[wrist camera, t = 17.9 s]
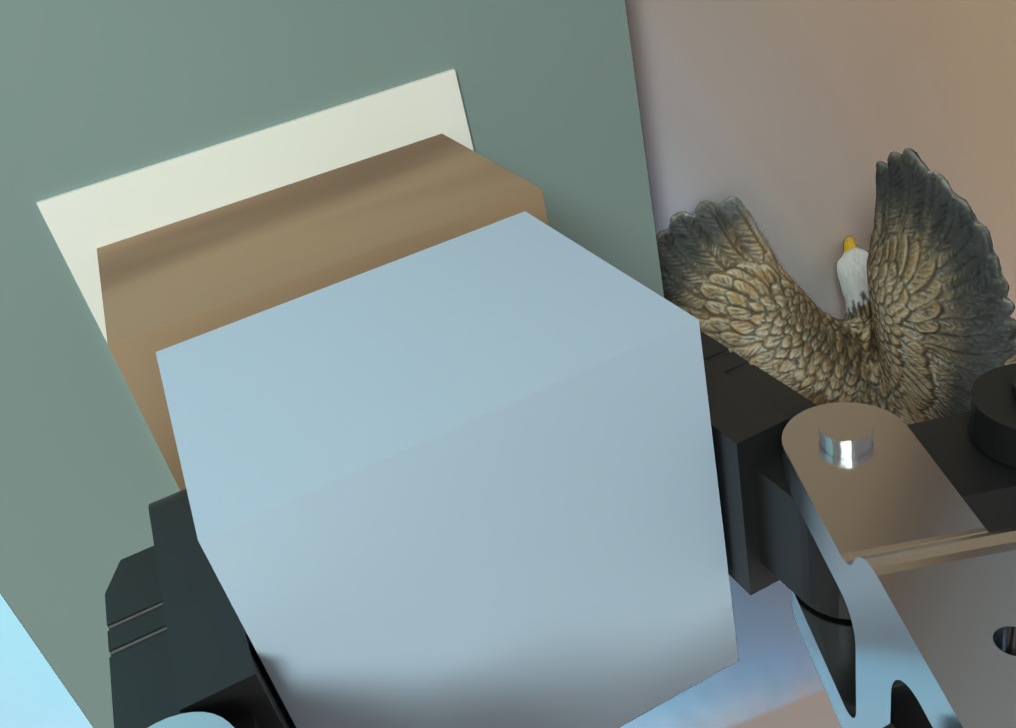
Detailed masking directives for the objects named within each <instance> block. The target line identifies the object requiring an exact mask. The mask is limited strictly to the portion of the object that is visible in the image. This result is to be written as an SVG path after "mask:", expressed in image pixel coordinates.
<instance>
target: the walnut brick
mask: <svg viewBox="0 0 1016 728" xmlns="http://www.w3.org/2000/svg"><path fill="white" fill-rule="evenodd" d="M524 211H526V212H527V213H529V214H530V215H532V216H534V217H535V218H537V219H538V220H540V221H542V222H543V223H545V224H546V225H548V220H547V215H546V209H545V204H544V199H543V194H542V189H541V188H539V187H538V186H536V185H534V184H532V183H530V182H529V181H527V180H525V179H523V178H521V177H520V176H518V175H516V174H514V173H512V172H510V171H509V170H507V169H505V168H503V167H501V166H500V165H498V164H496V163H494V162H492V161H491V160H489V159H487V158H485V157H483V156H482V155H480V154H478V153H476V152H474V151H473V150H471V149H469V148H467V147H465V146H464V145H462V144H460V143H458V142H456V141H454V140H453V139H451V138H449V137H447V136H445V135H444V134H439V135H436V136H433V137H430V138H427V139H424V140H421V141H418V142H415V143H412V144H409V145H406V146H403V147H400V148H397V149H394V150H391V151H388V152H385V153H382V154H379V155H376V156H373V157H370V158H367V159H364V160H361V161H358V162H355V163H352V164H349V165H346V166H343V167H340V168H337V169H334V170H331V171H328V172H325V173H322V174H319V175H316V176H313V177H310V178H307V179H304V180H301V181H298V182H295V183H292V184H289V185H286V186H283V187H280V188H277V189H274V190H271V191H268V192H265V193H262V194H259V195H256V196H253V197H250V198H247V199H244V200H241V201H238V202H235V203H232V204H229V205H226V206H223V207H220V208H217V209H214V210H211V211H208V212H205V213H202V214H199V215H196V216H193V217H190V218H187V219H184V220H181V221H178V222H175V223H172V224H169V225H166V226H163V227H160V228H157V229H154V230H151V231H148V232H145V233H142V234H139V235H136V236H133V237H130V238H127V239H124V240H121V241H118V242H115V243H112V244H109V245H106V246H103V247H100V248H97V256H98V265H99V274H100V282H101V291H102V300H103V308H104V317H105V326H106V335H107V343H108V347H109V349H110V351H111V353H112V355H113V357H114V359H115V361H116V363H117V365H118V367H119V369H120V371H121V373H122V375H123V377H124V379H125V381H126V383H127V385H128V387H129V389H130V391H131V393H132V395H133V397H134V399H135V401H136V403H137V405H138V407H139V409H140V411H141V413H142V415H143V417H144V419H145V421H146V423H147V425H148V427H149V429H150V431H151V433H152V435H153V437H154V439H155V441H156V443H157V445H158V447H159V449H160V451H161V453H162V455H163V457H164V459H165V461H166V463H167V465H168V467H169V469H170V471H171V473H172V475H173V477H174V479H175V481H176V483H177V485H178V487H179V489H180V491H181V490H184V489H186V485H185V481H184V476H183V472H182V467H181V463H180V459H179V454H178V450H177V445H176V441H175V436H174V432H173V427H172V423H171V419H170V414H169V410H168V405H167V401H166V396H165V392H164V387H163V383H162V379H161V374H160V370H159V365H158V361H157V356H156V352H157V351H160V350H162V349H165V348H168V347H170V346H173V345H176V344H178V343H181V342H183V341H186V340H189V339H191V338H194V337H197V336H199V335H202V334H204V333H207V332H210V331H212V330H215V329H218V328H220V327H223V326H225V325H228V324H231V323H233V322H236V321H238V320H241V319H244V318H246V317H249V316H252V315H254V314H257V313H259V312H262V311H265V310H267V309H270V308H273V307H275V306H278V305H280V304H283V303H286V302H288V301H291V300H294V299H296V298H299V297H301V296H304V295H307V294H309V293H312V292H315V291H317V290H320V289H322V288H325V287H328V286H330V285H333V284H336V283H338V282H341V281H343V280H346V279H349V278H351V277H354V276H356V275H359V274H362V273H364V272H367V271H370V270H372V269H375V268H377V267H380V266H383V265H385V264H388V263H391V262H393V261H396V260H398V259H401V258H404V257H406V256H409V255H412V254H414V253H417V252H419V251H422V250H425V249H427V248H430V247H433V246H435V245H438V244H440V243H443V242H446V241H448V240H451V239H453V238H456V237H459V236H461V235H464V234H467V233H469V232H472V231H474V230H477V229H480V228H482V227H485V226H488V225H490V224H493V223H495V222H498V221H501V220H503V219H506V218H509V217H511V216H514V215H516V214H519V213H522V212H524ZM548 226H549V225H548Z"/></svg>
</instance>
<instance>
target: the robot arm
mask: <svg viewBox="0 0 1016 728" xmlns="http://www.w3.org/2000/svg"><path fill="white" fill-rule="evenodd" d="M700 334H701V343H702V351H703V360H704V369H705V377H706V386H707V394H708V403H709V411H710V420H711V428H712V437H713V445H714V454H715V463H716V471H717V480H718V488H719V497H720V505H721V514H722V522H723V531H724V539H725V548H726V557H727V565H728V574H729V575H730V576H731V577H733V578H734V579H735V580H736V581H737V582H738V583H739V584H740V585H741V586H742V587H743V588H744V589H745V590H746V591H747V592H748V593H749V594H750V595H752V594H754V593H756V592H758V591H759V590H761V589H763V588H765V587H767V586H769V585H771V584H772V583H774V582H776V581H778V580H780V581H781V582H783V583H784V584H785V585H786V586H787V587H788V588H789V589H790V590H791V598H792V612H793V615H794V619H795V621H796V623H797V626H798V628H799V630H800V633H801V635H802V637H803V640H804V642H805V644H806V647H807V649H808V651H809V654H810V656H811V658H812V660H813V663H814V665H815V667H816V670H817V672H818V674H819V677H820V679H821V681H822V684H823V686H824V688H825V691H826V693H827V695H828V697H829V700H830V702H831V704H832V707H833V709H834V711H835V714H836V716H837V718H838V721H839V723H840V725H841V728H1016V363H1014V364H1008V365H1003V366H1000V367H997V368H994V369H992V370H989V371H987V372H985V373H984V374H982V375H981V376H980V377H979V378H978V379H977V380H976V381H975V382H974V384H973V386H972V390H971V399H970V411H969V412H965V413H960V414H955V415H951V416H946V417H941V418H937V419H932V420H927V421H923V422H918V423H913V424H907V425H906V424H905V423H904V421H903V420H901V419H900V418H899V417H897V416H896V415H895V414H893V413H891V412H889V411H887V410H885V409H882V408H879V407H876V406H872V405H868V404H863V403H855V402H835V403H828V404H822V405H816V404H815V403H813V402H812V401H810V400H808V399H807V398H805V397H804V396H802V395H801V394H799V393H798V392H796V391H794V390H793V389H791V388H790V387H788V386H787V385H785V384H783V383H782V382H780V381H779V380H777V379H776V378H774V377H772V376H771V375H769V374H768V373H766V372H765V371H763V370H761V369H760V368H758V367H757V366H755V365H754V364H753V365H751V366H750V364H749V362H748V361H747V360H746V359H744V358H743V357H741V356H740V355H738V354H736V353H735V352H731V353H730V352H729V349H728V348H727V347H725V346H724V345H722V344H721V343H719V342H718V341H716V340H714V339H713V338H711V337H710V336H708V335H707V334H705V333H703V332H700ZM148 508H149V515H150V522H151V528H152V535H153V541H154V546H152V547H149V548H147V549H145V550H142V551H140V552H138V553H135V554H133V555H131V556H128V557H126V558H124V559H121V560H120V562H119V564H118V566H117V569H116V571H115V573H114V575H113V577H112V580H111V582H110V584H109V586H108V588H107V590H106V593H105V605H106V619H107V626H108V629H109V631H107V634H108V648H109V652H110V655H111V657H109V663H110V677H111V691H112V706H113V720H114V728H296V726H295V724H294V722H293V720H292V718H291V717H290V715H289V713H288V711H287V709H286V707H285V705H284V703H283V701H282V699H281V697H280V696H279V694H278V692H277V690H276V688H275V686H274V684H273V682H272V680H271V678H270V677H269V675H268V673H267V671H266V669H265V667H264V665H263V663H262V661H261V659H260V658H259V656H258V654H257V652H256V650H255V648H254V646H253V644H252V642H251V640H250V638H249V637H248V635H247V633H246V631H245V629H244V627H243V625H242V623H241V621H240V619H239V618H238V616H237V614H236V612H235V610H234V608H233V606H232V604H231V602H230V600H229V599H228V597H227V595H226V593H225V591H224V589H223V587H222V585H221V583H220V581H219V580H218V578H217V576H216V574H215V572H214V570H213V568H212V566H211V564H210V562H209V560H208V559H207V557H206V555H205V553H204V551H203V549H202V547H201V545H200V543H199V541H198V538H197V534H196V530H195V525H194V521H193V516H192V512H191V507H190V503H189V498H188V494H187V490H186V489H184V490H181V491H179V492H177V493H174V494H172V495H169V496H167V497H165V498H162V499H160V500H157V501H155V502H153V503H150V504H149V507H148Z"/></svg>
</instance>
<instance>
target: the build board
mask: <svg viewBox="0 0 1016 728" xmlns="http://www.w3.org/2000/svg"><path fill="white" fill-rule="evenodd" d="M439 134H444V135H445V136H447V137H449V138H451V139H453V140H454V141H456V142H458V143H460V144H462V145H464V146H465V147H467V148H469V149H471V150H473V151H474V152H476V153H478V154H480V155H482V156H483V157H485V158H487V159H489V160H491V161H492V162H494V163H496V164H498V165H500V166H501V167H503V168H505V169H507V170H509V171H510V172H512V173H514V174H516V175H518V176H520V177H521V178H523V179H525V180H527V181H529V182H530V183H532V184H534V185H536V186H538V187H539V188H541V189H542V194H543V199H544V204H545V209H546V215H547V220H548V225H549V226H550V227H551V228H553V229H554V230H556V231H558V232H559V233H561V234H562V235H564V236H566V237H567V238H569V239H570V240H572V241H574V242H575V243H577V244H578V245H580V246H582V247H583V248H585V249H586V250H588V251H590V252H591V253H593V254H594V255H596V256H598V257H599V258H601V259H602V260H604V261H606V262H607V263H609V264H610V265H612V266H614V267H615V268H617V269H618V270H620V271H622V272H623V273H625V274H626V275H628V276H630V277H631V278H633V279H634V280H636V281H638V282H639V283H641V284H642V285H644V286H646V287H647V288H649V289H650V290H652V291H654V292H655V293H657V294H658V295H660V296H662V297H663V298H664V293H663V285H662V278H661V270H660V263H659V255H658V248H657V240H656V232H655V225H654V217H653V210H652V202H651V195H650V187H649V179H648V172H647V164H646V157H645V149H644V142H643V134H642V126H641V119H640V111H639V104H638V96H637V89H636V81H635V73H634V66H633V58H632V51H631V43H630V36H629V28H628V20H627V13H626V5H625V0H0V594H1V595H2V597H3V598H4V600H5V601H6V602H7V604H8V605H9V607H10V608H11V610H12V611H13V613H14V614H15V615H16V617H17V618H18V620H19V621H20V623H21V624H22V626H23V627H24V628H25V630H26V631H27V633H28V634H29V636H30V637H31V639H32V640H33V641H34V643H35V644H36V646H37V647H38V649H39V650H40V652H41V653H42V654H43V656H44V657H45V659H46V660H47V662H48V663H49V664H50V666H51V667H52V669H53V670H54V672H55V673H56V675H57V676H58V677H59V679H60V680H61V682H62V683H63V685H64V686H65V688H66V689H67V690H68V692H69V693H70V695H71V696H72V698H73V699H74V701H75V702H76V703H77V705H78V706H79V708H80V709H81V711H82V712H83V713H84V715H85V716H86V718H87V719H88V721H89V722H90V724H91V725H92V726H93V728H114V720H113V706H112V691H111V677H110V663H109V657H111V655H110V652H109V648H108V634H107V631H109V629H108V626H107V619H106V605H105V593H106V590H107V588H108V586H109V584H110V582H111V580H112V577H113V575H114V573H115V571H116V569H117V566H118V564H119V562H120V560H121V559H124V558H126V557H128V556H131V555H133V554H135V553H138V552H140V551H142V550H145V549H147V548H149V547H152V546H154V541H153V535H152V528H151V522H150V515H149V508H148V507H149V504H150V503H153V502H155V501H157V500H160V499H162V498H165V497H167V496H169V495H172V494H174V493H177V492H179V491H180V489H179V487H178V485H177V483H176V481H175V479H174V477H173V475H172V473H171V471H170V469H169V467H168V465H167V463H166V461H165V459H164V457H163V455H162V453H161V451H160V449H159V447H158V445H157V443H156V441H155V439H154V437H153V435H152V433H151V431H150V429H149V427H148V425H147V423H146V421H145V419H144V417H143V415H142V413H141V411H140V409H139V407H138V405H137V403H136V401H135V399H134V397H133V395H132V393H131V391H130V389H129V387H128V385H127V383H126V381H125V379H124V377H123V375H122V373H121V371H120V369H119V367H118V365H117V363H116V361H115V359H114V357H113V355H112V353H111V351H110V349H109V347H108V343H107V335H106V326H105V317H104V308H103V300H102V291H101V282H100V274H99V265H98V256H97V248H100V247H103V246H106V245H109V244H112V243H115V242H118V241H121V240H124V239H127V238H130V237H133V236H136V235H139V234H142V233H145V232H148V231H151V230H154V229H157V228H160V227H163V226H166V225H169V224H172V223H175V222H178V221H181V220H184V219H187V218H190V217H193V216H196V215H199V214H202V213H205V212H208V211H211V210H214V209H217V208H220V207H223V206H226V205H229V204H232V203H235V202H238V201H241V200H244V199H247V198H250V197H253V196H256V195H259V194H262V193H265V192H268V191H271V190H274V189H277V188H280V187H283V186H286V185H289V184H292V183H295V182H298V181H301V180H304V179H307V178H310V177H313V176H316V175H319V174H322V173H325V172H328V171H331V170H334V169H337V168H340V167H343V166H346V165H349V164H352V163H355V162H358V161H361V160H364V159H367V158H370V157H373V156H376V155H379V154H382V153H385V152H388V151H391V150H394V149H397V148H400V147H403V146H406V145H409V144H412V143H415V142H418V141H421V140H424V139H427V138H430V137H433V136H436V135H439Z"/></svg>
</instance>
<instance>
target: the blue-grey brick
mask: <svg viewBox="0 0 1016 728" xmlns="http://www.w3.org/2000/svg"><path fill="white" fill-rule="evenodd" d="M156 356H157V361H158V365H159V370H160V374H161V379H162V383H163V387H164V392H165V396H166V401H167V405H168V410H169V414H170V419H171V423H172V427H173V432H174V436H175V441H176V445H177V450H178V454H179V459H180V463H181V467H182V472H183V476H184V481H185V485H186V490H187V494H188V498H189V503H190V507H191V512H192V516H193V521H194V525H195V530H196V534H197V538H198V541H199V543H200V545H201V547H202V549H203V551H204V553H205V555H206V557H207V559H208V560H209V562H210V564H211V566H212V568H213V570H214V572H215V574H216V576H217V578H218V580H219V581H220V583H221V585H222V587H223V589H224V591H225V593H226V595H227V597H228V599H229V600H230V602H231V604H232V606H233V608H234V610H235V612H236V614H237V616H238V618H239V619H240V621H241V623H242V625H243V627H244V629H245V631H246V633H247V635H248V637H249V638H250V640H251V642H252V644H253V646H254V648H255V650H256V652H257V654H258V656H259V658H260V659H261V661H262V663H263V665H264V667H265V669H266V671H267V673H268V675H269V677H270V678H271V680H272V682H273V684H274V686H275V688H276V690H277V692H278V694H279V696H280V697H281V699H282V701H283V703H284V705H285V707H286V709H287V711H288V713H289V715H290V717H291V718H292V720H293V722H294V724H295V726H296V728H619V727H621V726H623V725H625V724H627V723H628V722H630V721H632V720H634V719H635V718H637V717H639V716H641V715H643V714H644V713H646V712H648V711H650V710H651V709H653V708H655V707H657V706H659V705H660V704H662V703H664V702H666V701H667V700H669V699H671V698H673V697H674V696H676V695H678V694H680V693H682V692H683V691H685V690H687V689H689V688H690V687H692V686H694V685H696V684H698V683H699V682H701V681H703V680H705V679H706V678H708V677H710V676H712V675H714V674H715V673H717V672H719V671H721V670H722V669H724V668H726V667H728V666H730V665H731V664H733V663H735V662H737V661H738V660H739V659H738V651H737V642H736V633H735V625H734V616H733V608H732V599H731V591H730V582H729V574H728V565H727V557H726V548H725V539H724V531H723V522H722V514H721V505H720V497H719V488H718V480H717V471H716V463H715V454H714V445H713V437H712V428H711V420H710V411H709V403H708V394H707V386H706V377H705V369H704V360H703V351H702V343H701V334H700V326H699V320H698V319H697V318H695V317H694V316H692V315H690V314H689V313H687V312H686V311H684V310H682V309H681V308H679V307H678V306H676V305H674V304H673V303H671V302H670V301H668V300H666V299H665V298H663V297H662V296H660V295H658V294H657V293H655V292H654V291H652V290H650V289H649V288H647V287H646V286H644V285H642V284H641V283H639V282H638V281H636V280H634V279H633V278H631V277H630V276H628V275H626V274H625V273H623V272H622V271H620V270H618V269H617V268H615V267H614V266H612V265H610V264H609V263H607V262H606V261H604V260H602V259H601V258H599V257H598V256H596V255H594V254H593V253H591V252H590V251H588V250H586V249H585V248H583V247H582V246H580V245H578V244H577V243H575V242H574V241H572V240H570V239H569V238H567V237H566V236H564V235H562V234H561V233H559V232H558V231H556V230H554V229H553V228H551V227H550V226H548V225H546V224H545V223H543V222H542V221H540V220H538V219H537V218H535V217H534V216H532V215H530V214H529V213H527V212H526V211H524V212H522V213H519V214H516V215H514V216H511V217H509V218H506V219H503V220H501V221H498V222H495V223H493V224H490V225H488V226H485V227H482V228H480V229H477V230H474V231H472V232H469V233H467V234H464V235H461V236H459V237H456V238H453V239H451V240H448V241H446V242H443V243H440V244H438V245H435V246H433V247H430V248H427V249H425V250H422V251H419V252H417V253H414V254H412V255H409V256H406V257H404V258H401V259H398V260H396V261H393V262H391V263H388V264H385V265H383V266H380V267H377V268H375V269H372V270H370V271H367V272H364V273H362V274H359V275H356V276H354V277H351V278H349V279H346V280H343V281H341V282H338V283H336V284H333V285H330V286H328V287H325V288H322V289H320V290H317V291H315V292H312V293H309V294H307V295H304V296H301V297H299V298H296V299H294V300H291V301H288V302H286V303H283V304H280V305H278V306H275V307H273V308H270V309H267V310H265V311H262V312H259V313H257V314H254V315H252V316H249V317H246V318H244V319H241V320H238V321H236V322H233V323H231V324H228V325H225V326H223V327H220V328H218V329H215V330H212V331H210V332H207V333H204V334H202V335H199V336H197V337H194V338H191V339H189V340H186V341H183V342H181V343H178V344H176V345H173V346H170V347H168V348H165V349H162V350H160V351H157V352H156Z"/></svg>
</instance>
